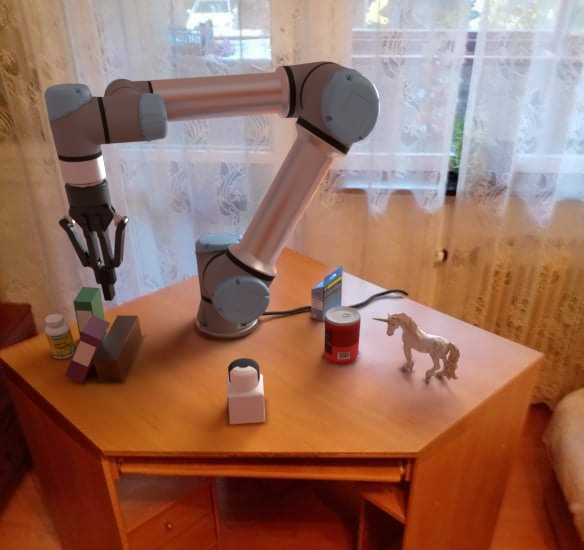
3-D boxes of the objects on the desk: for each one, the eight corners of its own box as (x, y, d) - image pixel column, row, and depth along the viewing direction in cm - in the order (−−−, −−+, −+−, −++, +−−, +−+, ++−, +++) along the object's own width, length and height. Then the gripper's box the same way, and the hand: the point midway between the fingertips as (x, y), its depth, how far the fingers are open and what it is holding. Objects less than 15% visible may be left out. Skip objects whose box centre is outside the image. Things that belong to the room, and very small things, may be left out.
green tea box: (107, 335, 145) (100, 287, 137) (99, 351, 140) (91, 302, 132) (91, 334, 145) (82, 286, 137) (82, 350, 139) (73, 301, 132)
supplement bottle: (72, 344, 142) (62, 309, 136) (79, 354, 138) (69, 319, 133) (49, 351, 140) (38, 316, 134) (56, 362, 136) (45, 326, 130)
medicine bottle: (229, 403, 123) (224, 355, 116) (263, 400, 124) (261, 353, 116) (229, 425, 118) (224, 376, 110) (265, 422, 118) (262, 373, 111)
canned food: (364, 355, 137) (367, 313, 130) (343, 369, 132) (345, 327, 126) (339, 343, 141) (341, 302, 135) (317, 356, 137) (317, 315, 130)
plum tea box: (91, 365, 135) (110, 322, 128) (82, 383, 129) (100, 340, 122) (74, 358, 134) (92, 314, 127) (64, 376, 128) (82, 331, 121)
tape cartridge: (329, 304, 157) (330, 260, 149) (341, 308, 155) (343, 264, 147) (310, 318, 151) (310, 273, 144) (323, 322, 149) (324, 277, 142)
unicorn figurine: (376, 353, 137) (380, 302, 129) (461, 370, 132) (471, 318, 124) (367, 370, 132) (372, 318, 124) (455, 389, 126) (466, 335, 118)
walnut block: (142, 337, 145) (137, 315, 141) (122, 382, 129) (117, 360, 126) (121, 336, 145) (117, 315, 141) (99, 382, 130) (93, 360, 126)
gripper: (126, 174, 109) (146, 289, 123) (57, 173, 110) (84, 288, 124) (115, 187, 103) (137, 307, 117) (42, 187, 104) (72, 306, 118)
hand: (110, 297), depth 121 cm, fingers closed
